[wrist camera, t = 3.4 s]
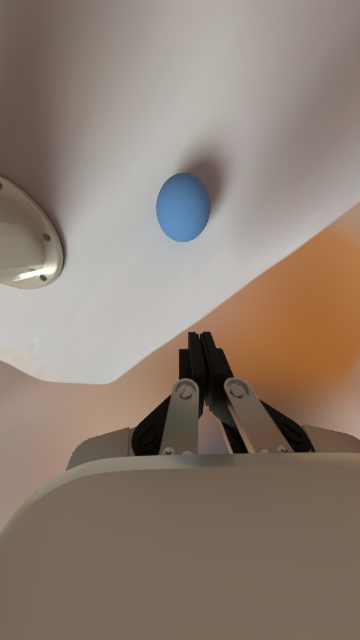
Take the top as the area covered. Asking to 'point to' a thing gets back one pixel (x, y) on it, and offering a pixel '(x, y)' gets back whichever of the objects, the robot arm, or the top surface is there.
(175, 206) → the ball
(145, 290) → the top surface
